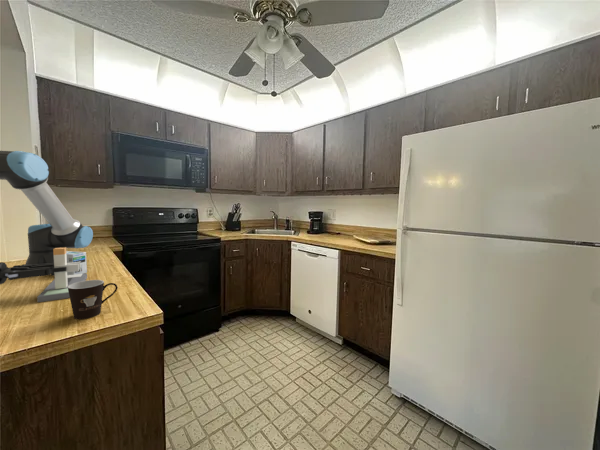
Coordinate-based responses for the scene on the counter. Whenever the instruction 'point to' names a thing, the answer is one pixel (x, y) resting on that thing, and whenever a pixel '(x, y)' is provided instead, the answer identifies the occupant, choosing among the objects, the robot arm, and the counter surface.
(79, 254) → the light bulb box
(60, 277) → the breaker lever
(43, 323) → the counter surface
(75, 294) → the coffee mug
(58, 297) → the plate
